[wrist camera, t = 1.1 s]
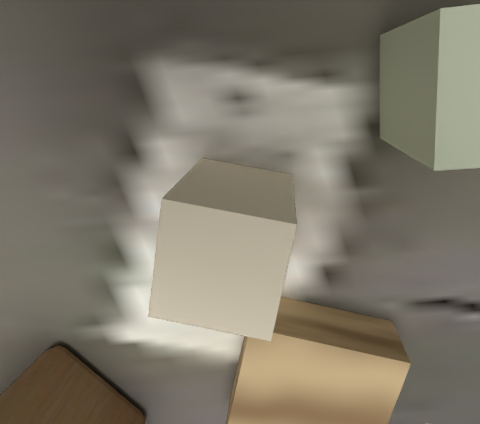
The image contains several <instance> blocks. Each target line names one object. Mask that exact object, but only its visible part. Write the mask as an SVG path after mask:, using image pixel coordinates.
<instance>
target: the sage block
mask: <svg viewBox="0 0 480 424" xmlns="http://www.w3.org/2000/svg"><path fill="white" fill-rule="evenodd" d="M380 138H381V139H382V140H384V141H385V142H387V143H389V144H390V145H392V146H394V147H395V148H397V149H399V150H400V151H402V152H404V153H405V154H407V155H409V156H410V157H412V158H414V159H415V160H417V161H418V162H420V163H422V164H423V165H425V166H427V167H428V168H430V169H432V170H433V171H440V170H454V169H469V168H480V4H475V5H466V6H457V7H448V8H440V9H438V10H436V11H433V12H431V13H429V14H427V15H424V16H422V17H420V18H418V19H415V20H413V21H411V22H409V23H406V24H404V25H402V26H400V27H397V28H395V29H393V30H391V31H388V32H386V33H384V34H382V35H380Z"/></svg>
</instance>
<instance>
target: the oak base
mask: <svg viewBox="0 0 480 424" xmlns="http://www.w3.org/2000/svg"><path fill="white" fill-rule="evenodd" d="M410 365H411V362H410V360H409V358H408V356H407V354H406V351H405V349H404V347H403V345H402V342H401V340H400V338H399V336H398V334H397V331H396V329H395V327H394V325H393V323H392V321H389V320H384V319H380V318H375V317H371V316H366V315H362V314H357V313H352V312H348V311H343V310H339V309H334V308H330V307H325V306H321V305H316V304H312V303H307V302H302V301H298V300H293V299H289V298H284V297H281V299H280V303H279V308H278V312H277V317H276V321H275V326H274V330H273V335H272V339H271V341H266V340H261V339H256V338H252V337H247V336H244V341H243V345H242V349H241V354H240V358H239V363H238V367H237V371H236V376H235V380H234V384H233V389H232V393H231V397H230V402H229V408H228V414H227V420H226V424H388V422H389V419H390V417H391V414H392V411H393V409H394V406H395V404H396V401H397V398H398V396H399V393H400V391H401V388H402V385H403V383H404V380H405V378H406V375H407V372H408V370H409V367H410Z"/></svg>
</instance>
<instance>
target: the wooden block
mask: <svg viewBox="0 0 480 424" xmlns="http://www.w3.org/2000/svg"><path fill="white" fill-rule="evenodd" d="M0 424H145V417H144V416H143V414H142V412H141V411H140V410H139V409H137V408H136V407H135V406H134V405H133V404H131V403H130V402H129V401H128V400H127V399H126V398H124V397H123V396H122V395H121V394H120V393H118V392H117V391H116V390H115V389H114V388H112V387H111V386H110V385H109V384H108V383H107V382H105V381H104V380H103V379H102V378H101V377H99V376H98V375H97V374H96V373H95V372H93V371H92V370H91V369H90V368H89V367H88V366H86V365H85V364H84V363H83V362H82V361H80V360H79V359H78V358H77V357H76V356H74V355H73V354H72V353H71V352H70V351H69V350H67V349H66V348H64V347H61V346H59V345H58V346H56V347H53V348H51V349H48V350H46V351H45V352H44V353H43V354H42V355H41V356H40V357H39V358H38V359H37V360H36V361H35V362H34V363H33V364H32V365H31V366H30V367H29V368H28V369H27V370H26V371H25V372H24V373H23V374H22V375H20V376H19V377H18V378H17V379H16V380H15V381H14V382H13V383H12V384H11V385H10V386H9V387H8V388H7V389H6V390H5V391H4V392H3V393H2V394H1V395H0Z"/></svg>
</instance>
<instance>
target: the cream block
mask: <svg viewBox="0 0 480 424" xmlns="http://www.w3.org/2000/svg"><path fill="white" fill-rule="evenodd" d="M296 228H297V218H296V208H295V198H294V189H293V179H292V175H291V174H285V173H280V172H275V171H269V170H264V169H258V168H253V167H248V166H242V165H237V164H232V163H226V162H221V161H215V160H210V159H205V158H202V159H201V160H200V161H199V162H198V163H197V164H196V165H195V166H194V167H193V168H192V169H191V170H190V171H189V172H188V173H187V174H186V175H185V176H184V177H183V178H182V179H181V180H180V181H179V182H178V183H177V184H176V185H175V186H174V187H173V188H172V189H171V190H170V191H169V192H168V193H167V194H166V195H165V196H164V197H163V198H162V201H161V210H160V219H159V227H158V236H157V245H156V253H155V262H154V271H153V280H152V288H151V297H150V306H149V314H148V317H153V318H158V319H162V320H167V321H172V322H177V323H182V324H187V325H192V326H197V327H202V328H207V329H212V330H217V331H222V332H227V333H232V334H237V335H242V336H247V337H252V338H256V339H261V340H266V341H271V339H272V335H273V330H274V326H275V321H276V317H277V312H278V308H279V303H280V299H281V294H282V290H283V286H284V281H285V277H286V272H287V268H288V263H289V259H290V254H291V250H292V245H293V241H294V237H295V232H296Z"/></svg>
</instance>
